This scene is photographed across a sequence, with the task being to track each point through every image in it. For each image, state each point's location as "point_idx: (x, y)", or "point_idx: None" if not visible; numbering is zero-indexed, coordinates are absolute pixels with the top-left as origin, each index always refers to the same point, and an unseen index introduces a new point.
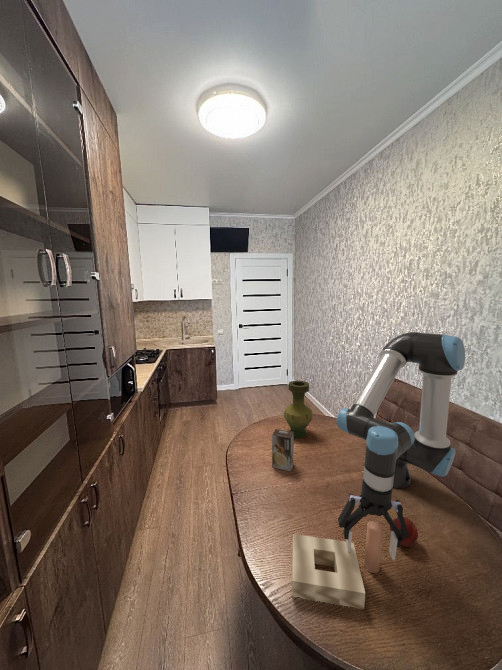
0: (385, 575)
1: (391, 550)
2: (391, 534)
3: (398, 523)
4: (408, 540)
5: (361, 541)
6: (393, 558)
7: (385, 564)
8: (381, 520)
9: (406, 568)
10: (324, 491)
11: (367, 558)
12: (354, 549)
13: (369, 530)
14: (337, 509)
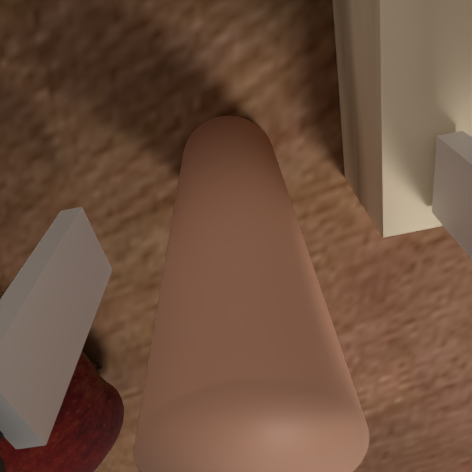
0: (145, 130)
1: (81, 265)
2: (52, 404)
3: (57, 465)
4: None
5: None
6: (69, 213)
7: (147, 204)
8: None
9: (30, 224)
10: (434, 462)
11: (271, 161)
12: (388, 178)
13: (340, 381)
14: (386, 406)
